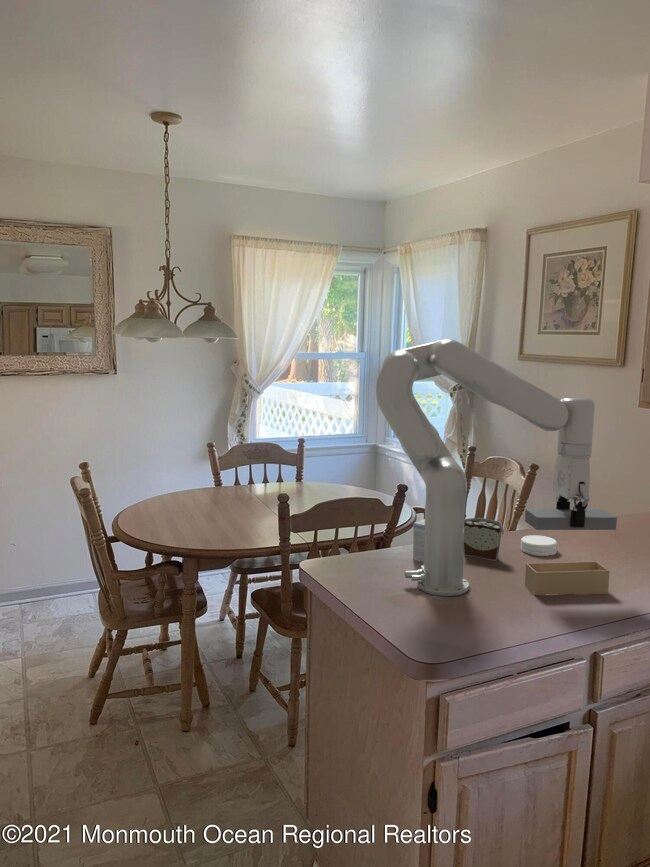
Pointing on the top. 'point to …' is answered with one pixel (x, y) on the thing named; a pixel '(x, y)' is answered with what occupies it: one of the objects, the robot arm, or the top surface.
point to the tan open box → (567, 578)
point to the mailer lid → (561, 519)
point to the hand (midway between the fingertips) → (569, 521)
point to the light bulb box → (418, 540)
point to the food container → (482, 538)
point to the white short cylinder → (538, 545)
